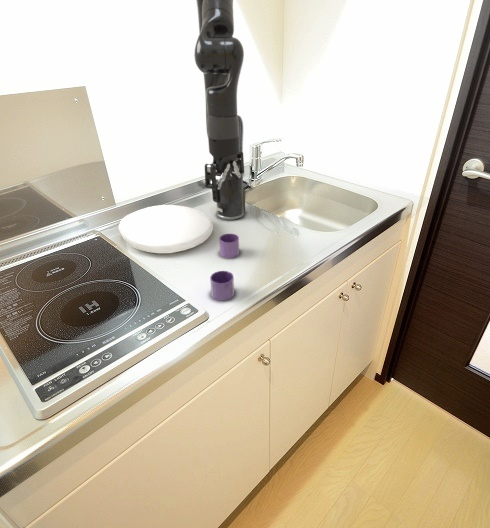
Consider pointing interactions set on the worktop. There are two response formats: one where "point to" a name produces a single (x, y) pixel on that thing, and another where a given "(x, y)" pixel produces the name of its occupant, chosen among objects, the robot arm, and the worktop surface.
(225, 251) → the ramekin
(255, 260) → the worktop surface
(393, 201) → the worktop surface
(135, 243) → the plate
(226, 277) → the ramekin
